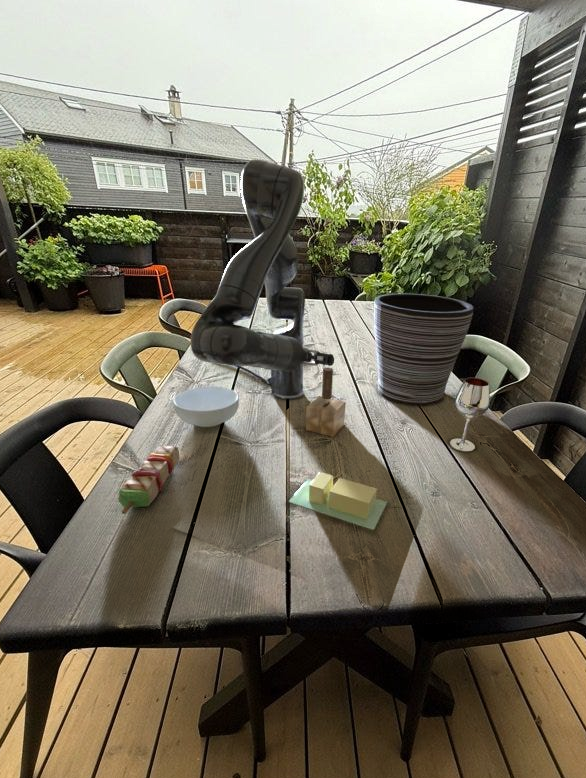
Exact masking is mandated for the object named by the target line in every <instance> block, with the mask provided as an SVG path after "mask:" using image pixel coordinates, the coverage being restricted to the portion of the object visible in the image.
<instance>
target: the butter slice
mask: <svg viewBox="0 0 586 778" xmlns="http://www.w3.org/2000/svg"><path fill="white" fill-rule="evenodd" d="M333 486H334V475H332V474H329V473H325V472H321V471H320V472H318V474H316V477H314V478H313V481H312V482H311V484H310V485H309V501H310V502H313V503H317V504H320V505H323V504H324V502H325V501H326V500H327V498H328V497H329V495H330V490H331V489H332V488H333Z"/></svg>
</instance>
